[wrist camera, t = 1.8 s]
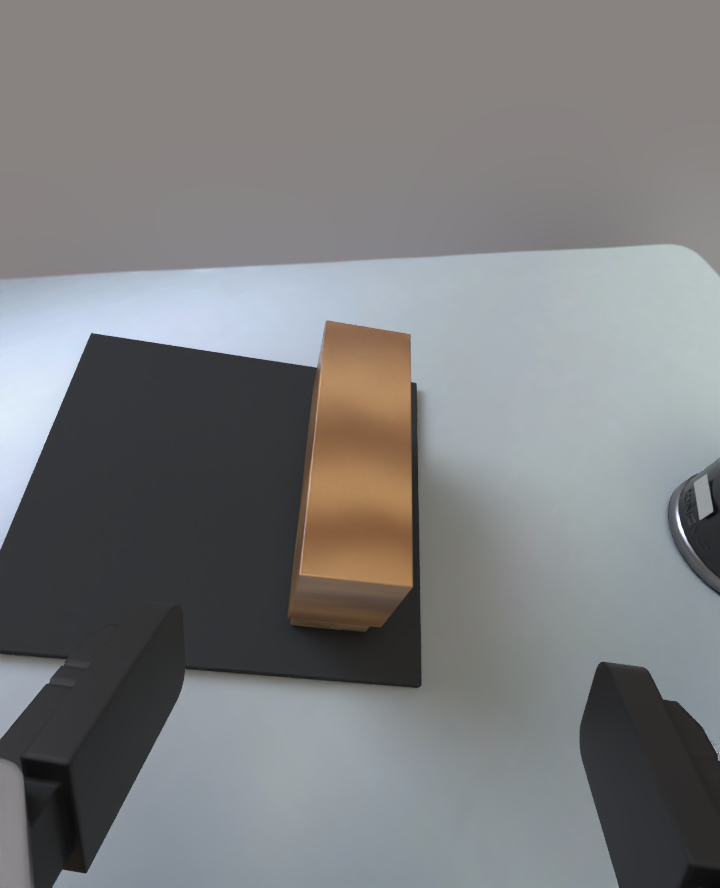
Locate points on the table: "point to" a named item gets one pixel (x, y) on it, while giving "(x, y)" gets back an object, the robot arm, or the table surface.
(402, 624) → the mat
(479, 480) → the table surface
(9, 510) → the table surface
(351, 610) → the tall wood grain block
